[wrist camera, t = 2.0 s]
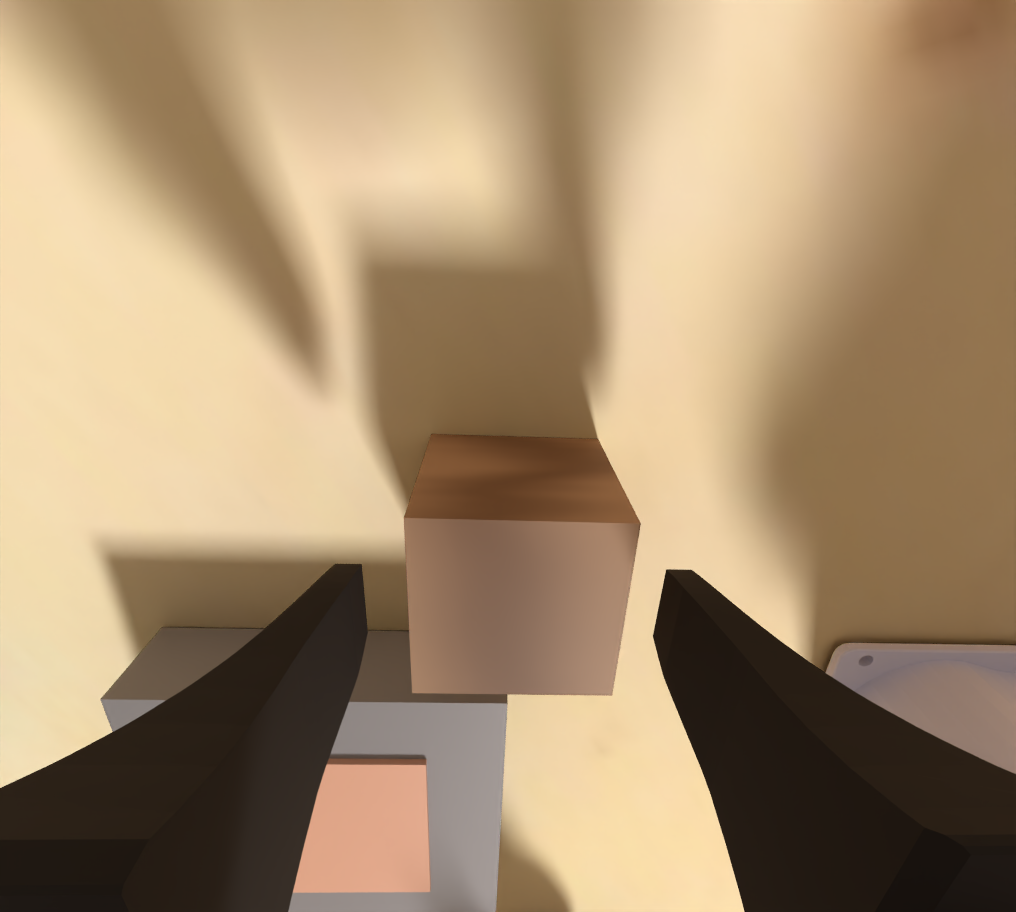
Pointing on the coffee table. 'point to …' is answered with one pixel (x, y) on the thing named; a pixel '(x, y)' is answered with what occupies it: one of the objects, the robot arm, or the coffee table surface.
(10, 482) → the coffee table surface
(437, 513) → the walnut cube
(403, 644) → the slate plinth
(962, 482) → the coffee table surface
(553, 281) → the coffee table surface
